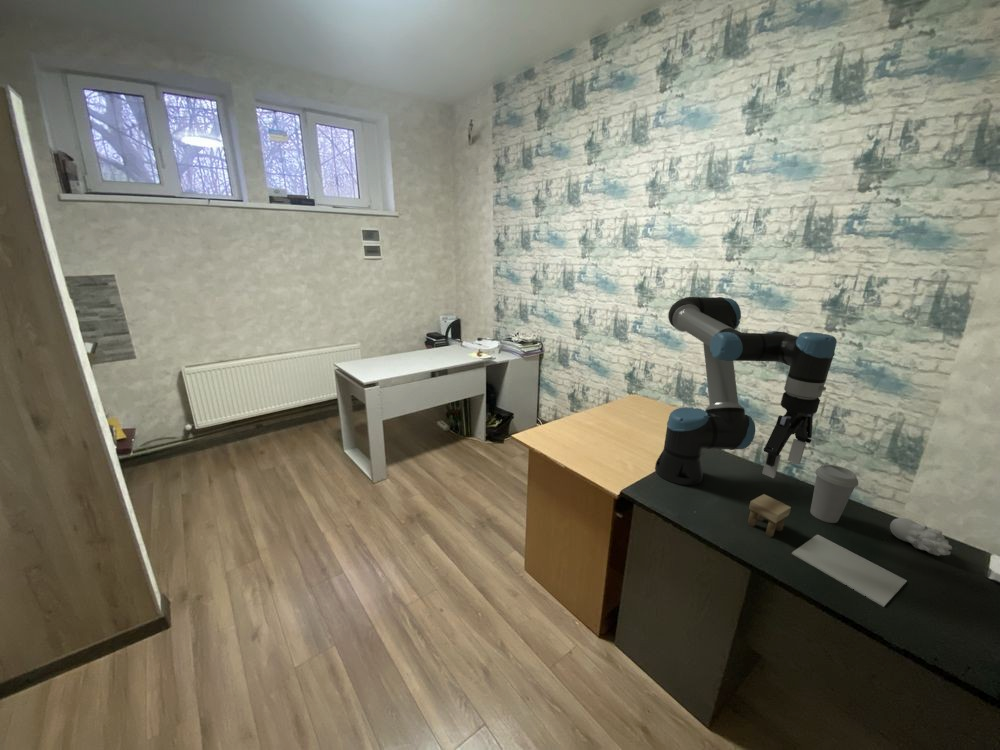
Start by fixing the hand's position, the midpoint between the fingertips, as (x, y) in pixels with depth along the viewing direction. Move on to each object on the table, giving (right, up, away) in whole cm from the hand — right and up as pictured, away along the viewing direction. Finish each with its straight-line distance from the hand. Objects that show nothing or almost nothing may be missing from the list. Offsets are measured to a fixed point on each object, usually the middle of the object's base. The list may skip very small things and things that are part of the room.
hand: (781, 468), depth 104 cm
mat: (+10, -22, -8) cm, 26 cm away
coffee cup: (+20, -17, +11) cm, 29 cm away
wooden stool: (-1, -18, +5) cm, 19 cm away
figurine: (+35, -21, -1) cm, 41 cm away
